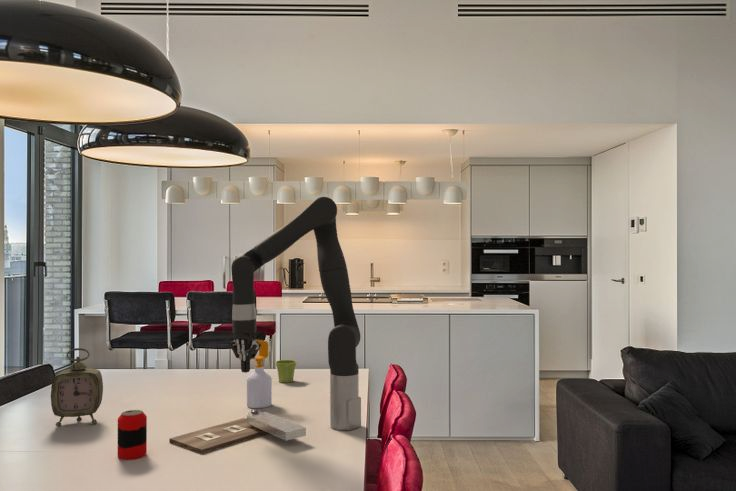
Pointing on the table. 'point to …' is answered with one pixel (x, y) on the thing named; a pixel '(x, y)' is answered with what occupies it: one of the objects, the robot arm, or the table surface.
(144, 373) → the table surface
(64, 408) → the tabletop clock
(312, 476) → the table surface
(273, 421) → the swing arm
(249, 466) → the table surface
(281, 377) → the plant pot
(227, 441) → the label panel
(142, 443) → the soda can
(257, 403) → the soap bottle
